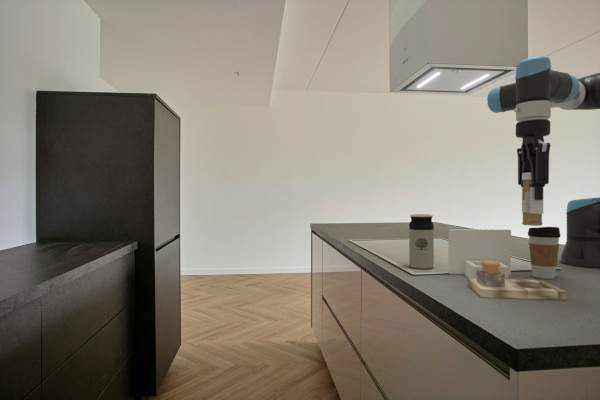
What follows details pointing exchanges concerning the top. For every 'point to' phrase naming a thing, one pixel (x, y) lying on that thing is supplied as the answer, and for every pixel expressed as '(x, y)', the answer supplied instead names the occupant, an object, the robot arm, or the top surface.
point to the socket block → (513, 287)
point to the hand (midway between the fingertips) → (532, 212)
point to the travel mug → (421, 241)
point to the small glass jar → (490, 266)
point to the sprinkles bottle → (528, 203)
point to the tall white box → (478, 250)
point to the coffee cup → (544, 251)
